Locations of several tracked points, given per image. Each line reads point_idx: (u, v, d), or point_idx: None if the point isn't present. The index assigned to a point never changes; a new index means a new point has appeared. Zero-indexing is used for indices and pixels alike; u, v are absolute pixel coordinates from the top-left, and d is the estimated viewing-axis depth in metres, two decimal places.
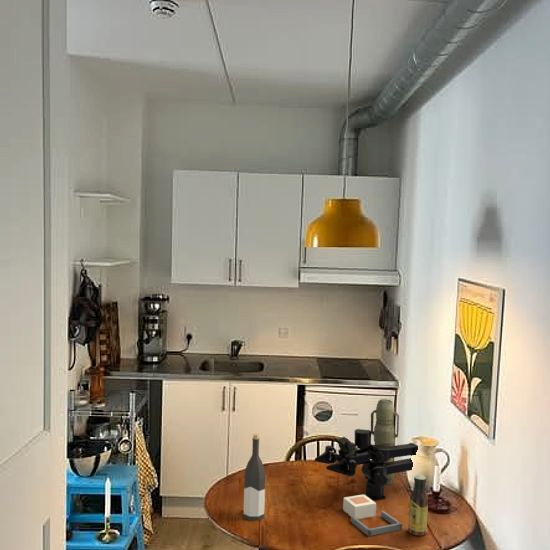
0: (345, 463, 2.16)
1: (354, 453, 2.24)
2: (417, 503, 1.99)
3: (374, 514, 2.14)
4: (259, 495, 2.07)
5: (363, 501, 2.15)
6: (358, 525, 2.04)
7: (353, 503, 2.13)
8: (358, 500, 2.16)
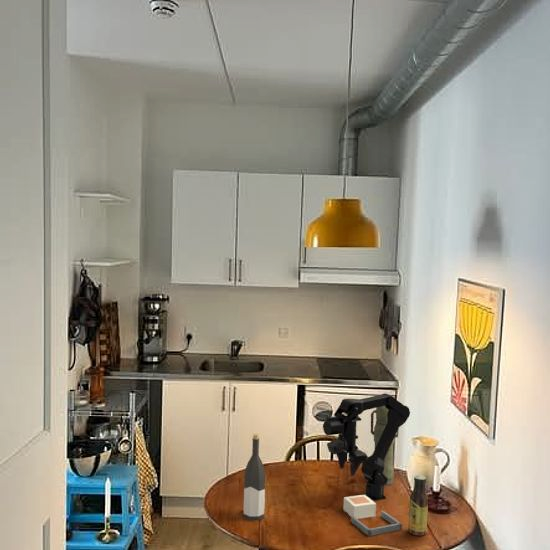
0: None
1: (345, 439, 2.21)
2: (417, 503, 1.99)
3: (374, 514, 2.14)
4: (259, 495, 2.07)
5: (363, 501, 2.15)
6: (358, 525, 2.04)
7: (353, 503, 2.13)
8: (358, 500, 2.16)
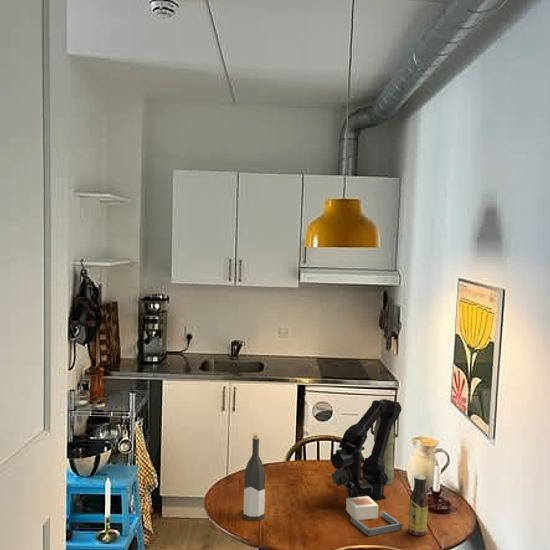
0: None
1: (350, 471, 2.17)
2: (417, 503, 1.99)
3: (376, 516, 2.12)
4: (259, 495, 2.07)
5: (365, 503, 2.14)
6: (358, 525, 2.04)
7: (355, 504, 2.13)
8: (360, 501, 2.15)
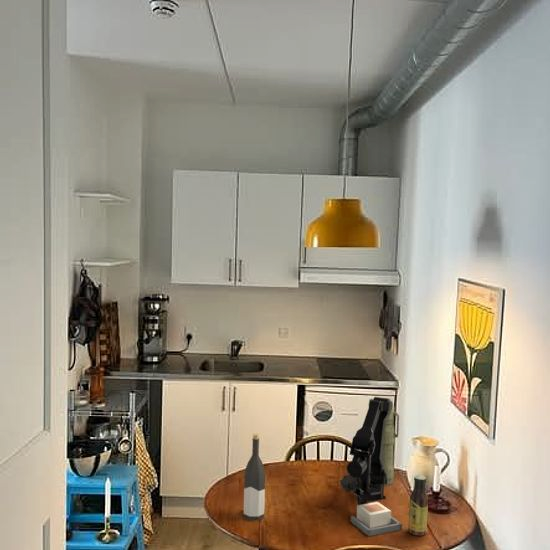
0: None
1: (359, 477, 2.11)
2: (417, 503, 1.99)
3: (389, 522, 2.08)
4: (259, 495, 2.07)
5: (378, 509, 2.09)
6: (358, 525, 2.04)
7: (368, 511, 2.07)
8: (372, 508, 2.10)
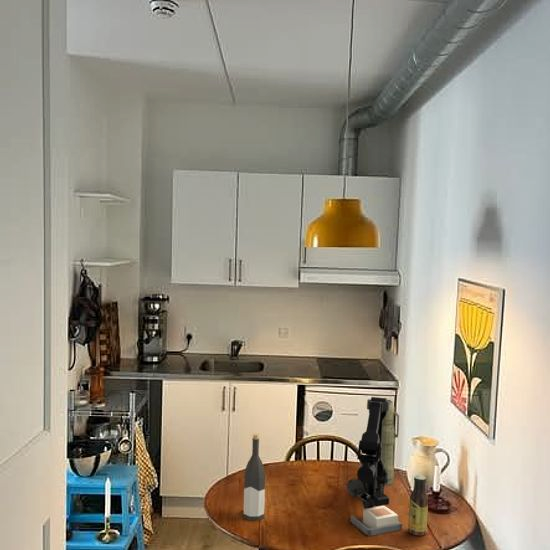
0: None
1: None
2: (417, 503, 1.99)
3: None
4: (259, 495, 2.07)
5: (384, 513, 2.05)
6: (358, 525, 2.04)
7: (374, 515, 2.03)
8: (379, 512, 2.06)
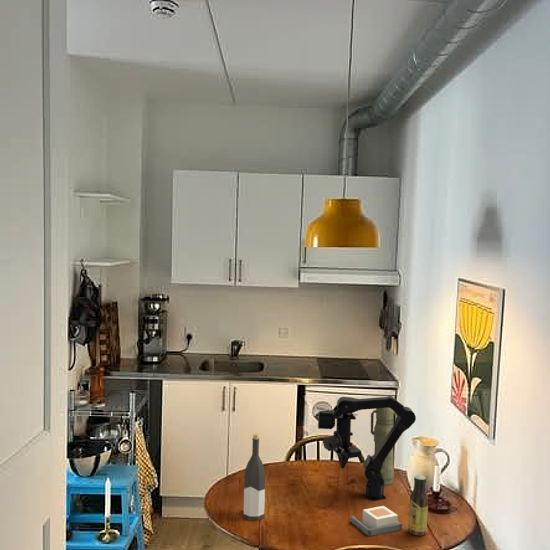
0: None
1: (340, 436, 2.28)
2: (417, 503, 1.99)
3: None
4: (259, 495, 2.07)
5: (384, 513, 2.05)
6: (358, 525, 2.04)
7: (374, 515, 2.03)
8: (379, 512, 2.06)
